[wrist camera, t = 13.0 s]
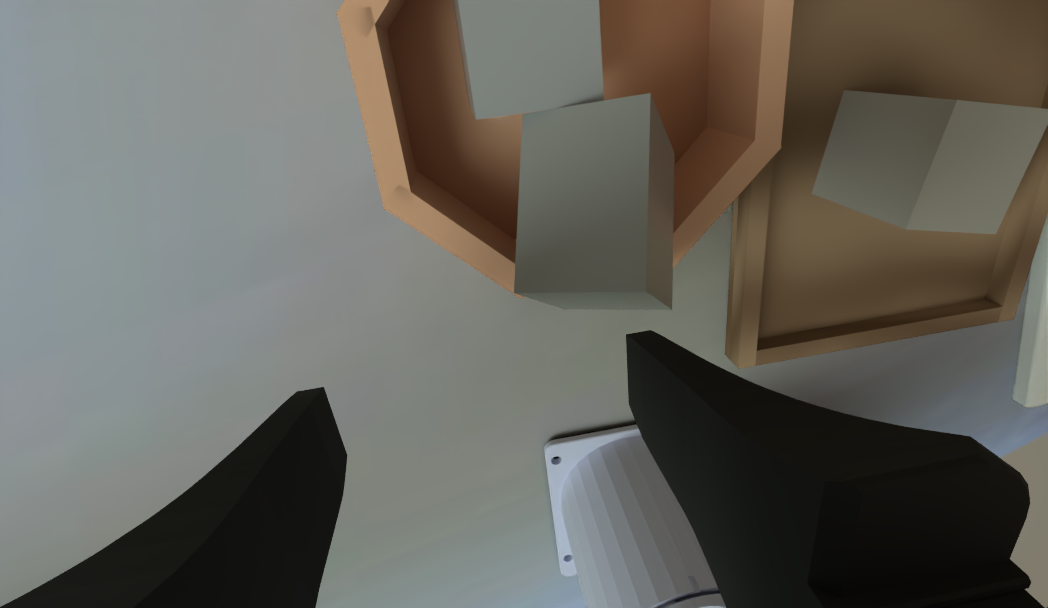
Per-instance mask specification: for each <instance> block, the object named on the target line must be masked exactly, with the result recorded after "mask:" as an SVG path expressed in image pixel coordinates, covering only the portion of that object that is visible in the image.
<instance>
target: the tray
mask: <svg viewBox="0 0 1048 608" xmlns="http://www.w3.org/2000/svg"><path fill="white" fill-rule="evenodd" d="M844 90H851V91H862V92H873V93H884V94H895V95H907V96H918V97H929V98H940V99H952V100H962V101H972V102H982V103H993V104H1003V105H1013V106H1023V107H1033V108H1043V109H1048V0H794V6H793V17H792V28H791V39H790V50H789V61H788V72H787V83H786V94H785V105H784V116H783V127H782V138H781V150H779V151H778V152H777V153H776V154H775V155H774V156H773V157H772V158H771V160H770V161H769V162H768V163H767V164H766V165H765V166H764V167H763V169H762V170H761V171H760V172H759V173H758V174H757V175H756V176H755V177H754V179H753V180H752V181H751V182H750V183H749V184H748V185H747V186H746V188H745V189H744V190H743V191H742V192H741V193H740V194H739V195H738V196H737V198H736V199H735V200H734V201H733V218H732V237H731V255H730V273H729V291H728V310H727V328H726V346H725V355H726V356H727V357H728V358H729V359H730V360H731V361H732V362H733V363H734V364H735V366H736V367H737V368H738V369H740V368H746V367H751V366H757V365H762V364H768V363H773V362H779V361H784V360H790V359H796V358H801V357H807V356H812V355H818V354H823V353H829V352H834V351H840V350H845V349H851V348H856V347H862V346H867V345H873V344H878V343H884V342H890V341H895V340H901V339H906V338H912V337H917V336H923V335H928V334H934V333H939V332H945V331H950V330H956V329H961V328H967V327H972V326H978V325H984V324H989V323H995V322H1000V321H1006V320H1011V319H1014V317H1015V314H1016V311H1017V307H1018V304H1019V301H1020V298H1021V295H1022V292H1023V289H1024V286H1025V283H1026V280H1027V277H1028V273H1029V270H1030V267H1031V264H1032V261H1033V258H1034V255H1035V252H1036V249H1037V246H1038V243H1039V239H1040V236H1041V233H1042V230H1043V227H1044V224H1045V221H1046V218H1047V215H1048V125H1047V127H1046V129H1045V131H1044V133H1043V136H1042V138H1041V140H1040V142H1039V144H1038V146H1037V148H1036V150H1035V152H1034V155H1033V157H1032V159H1031V161H1030V163H1029V165H1028V167H1027V169H1026V171H1025V173H1024V176H1023V178H1022V180H1021V182H1020V184H1019V186H1018V188H1017V190H1016V192H1015V195H1014V197H1013V199H1012V201H1011V203H1010V205H1009V207H1008V209H1007V211H1006V214H1005V216H1004V218H1003V220H1002V222H1001V224H1000V226H999V228H998V230H997V233H996V234H980V233H961V232H942V231H924V230H905V229H903V228H900V227H898V226H895V225H892V224H890V223H887V222H884V221H882V220H879V219H877V218H874V217H871V216H869V215H866V214H863V213H861V212H858V211H856V210H853V209H850V208H848V207H845V206H842V205H840V204H837V203H835V202H832V201H829V200H827V199H824V198H821V197H819V196H816V195H813V194H812V191H813V187H814V184H815V181H816V178H817V175H818V171H819V168H820V165H821V162H822V159H823V156H824V152H825V149H826V146H827V143H828V140H829V137H830V133H831V130H832V127H833V124H834V121H835V117H836V114H837V111H838V108H839V105H840V102H841V98H842V95H843V92H844Z"/></svg>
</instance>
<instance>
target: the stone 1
mask: <svg viewBox="0 0 1048 608" xmlns="http://www.w3.org/2000/svg"><path fill="white" fill-rule="evenodd" d="M453 6H454V13H455V19H456V26H457V32H458V38H459V45H460V51H461V58H462V64H463V71H464V77H465V84H466V90H467V97H468V103H469V106H470V108H471V110H472V112H473V115H474V117H475V119H476V120H478V119H485V118H492V117H499V116H506V115H513V114H520V113H527V112H534V111H542V110H549V109H555V108H562V107H568V106H574V105H580V104H586V103H592V102H598V101H604V94H603V73H602V53H601V33H600V12H599V0H453Z"/></svg>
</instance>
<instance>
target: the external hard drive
mask: <svg viewBox="0 0 1048 608" xmlns="http://www.w3.org/2000/svg"><path fill="white" fill-rule="evenodd" d="M1012 399H1013V400H1015V401H1016V402H1018V403H1019V404H1021V405H1023V406H1024V407H1038V406H1041V405H1044V404H1047V403H1048V215H1047V218H1046V221H1045V224H1044V227H1043V230H1042V233H1041V236H1040V239H1039V243H1038V246H1037V249H1036V252H1035V255H1034V258H1033V261H1032V264H1031V269H1030V276H1029V283H1028V290H1027V298H1026V304H1025V311H1024V319H1023V325H1022V332H1021V339H1020V346H1019V353H1018V361H1017V368H1016V374H1015V382H1014V388H1013V395H1012Z"/></svg>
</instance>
